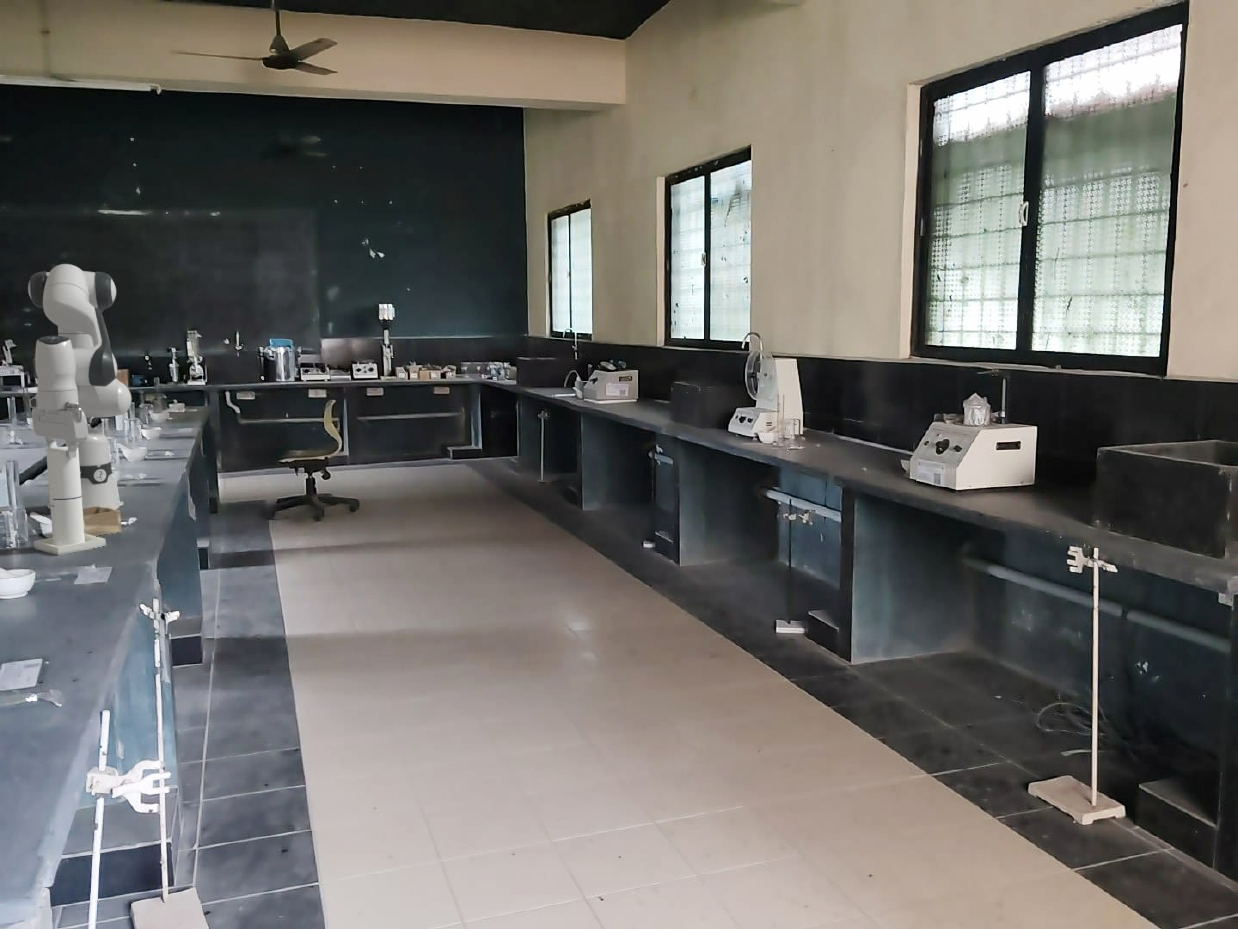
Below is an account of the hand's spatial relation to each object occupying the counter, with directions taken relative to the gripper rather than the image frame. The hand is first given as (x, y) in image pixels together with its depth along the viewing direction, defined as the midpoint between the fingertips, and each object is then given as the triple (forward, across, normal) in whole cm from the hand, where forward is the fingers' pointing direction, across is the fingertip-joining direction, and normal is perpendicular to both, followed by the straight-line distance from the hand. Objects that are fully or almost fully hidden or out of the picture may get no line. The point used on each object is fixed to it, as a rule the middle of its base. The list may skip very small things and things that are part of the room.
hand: (62, 456), depth 256 cm
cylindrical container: (+23, 0, 0) cm, 23 cm away
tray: (+24, 0, 0) cm, 24 cm away
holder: (+24, +12, -12) cm, 29 cm away
